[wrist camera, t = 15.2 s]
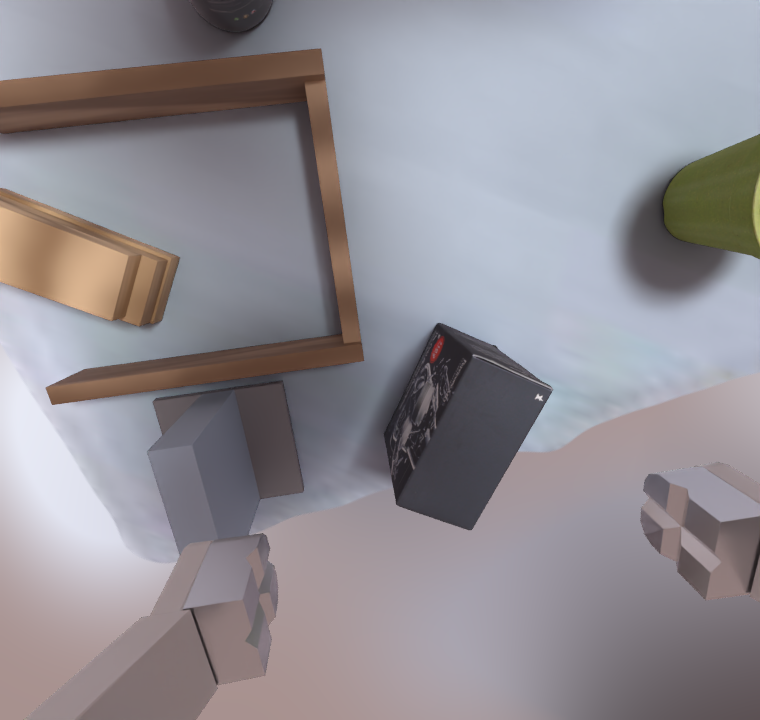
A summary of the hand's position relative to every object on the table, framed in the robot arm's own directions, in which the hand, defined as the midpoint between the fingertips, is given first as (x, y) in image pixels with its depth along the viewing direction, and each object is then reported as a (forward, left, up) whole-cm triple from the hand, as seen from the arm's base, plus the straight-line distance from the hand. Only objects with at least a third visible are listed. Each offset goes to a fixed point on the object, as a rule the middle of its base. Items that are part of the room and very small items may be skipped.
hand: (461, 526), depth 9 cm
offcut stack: (-8, -24, -31) cm, 39 cm away
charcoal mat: (+12, -15, -31) cm, 36 cm away
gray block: (+12, -15, -30) cm, 35 cm away
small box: (+9, +6, -31) cm, 33 cm away
